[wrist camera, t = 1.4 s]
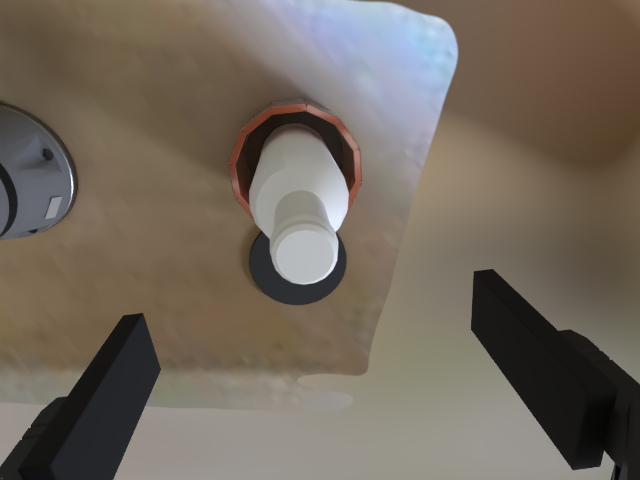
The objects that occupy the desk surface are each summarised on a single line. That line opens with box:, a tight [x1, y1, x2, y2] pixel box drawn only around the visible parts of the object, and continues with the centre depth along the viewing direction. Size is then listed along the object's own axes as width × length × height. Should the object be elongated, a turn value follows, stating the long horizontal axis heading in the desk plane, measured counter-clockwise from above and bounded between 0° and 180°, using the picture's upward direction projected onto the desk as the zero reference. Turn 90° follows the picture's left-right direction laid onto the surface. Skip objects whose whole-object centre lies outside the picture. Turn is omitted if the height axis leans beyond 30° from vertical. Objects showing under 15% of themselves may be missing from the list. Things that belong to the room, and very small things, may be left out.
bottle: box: [249, 122, 349, 285], centre depth 35 cm, size 8×8×30 cm
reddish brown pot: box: [228, 98, 362, 220], centre depth 45 cm, size 13×13×10 cm
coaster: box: [250, 231, 346, 305], centre depth 54 cm, size 13×13×1 cm
